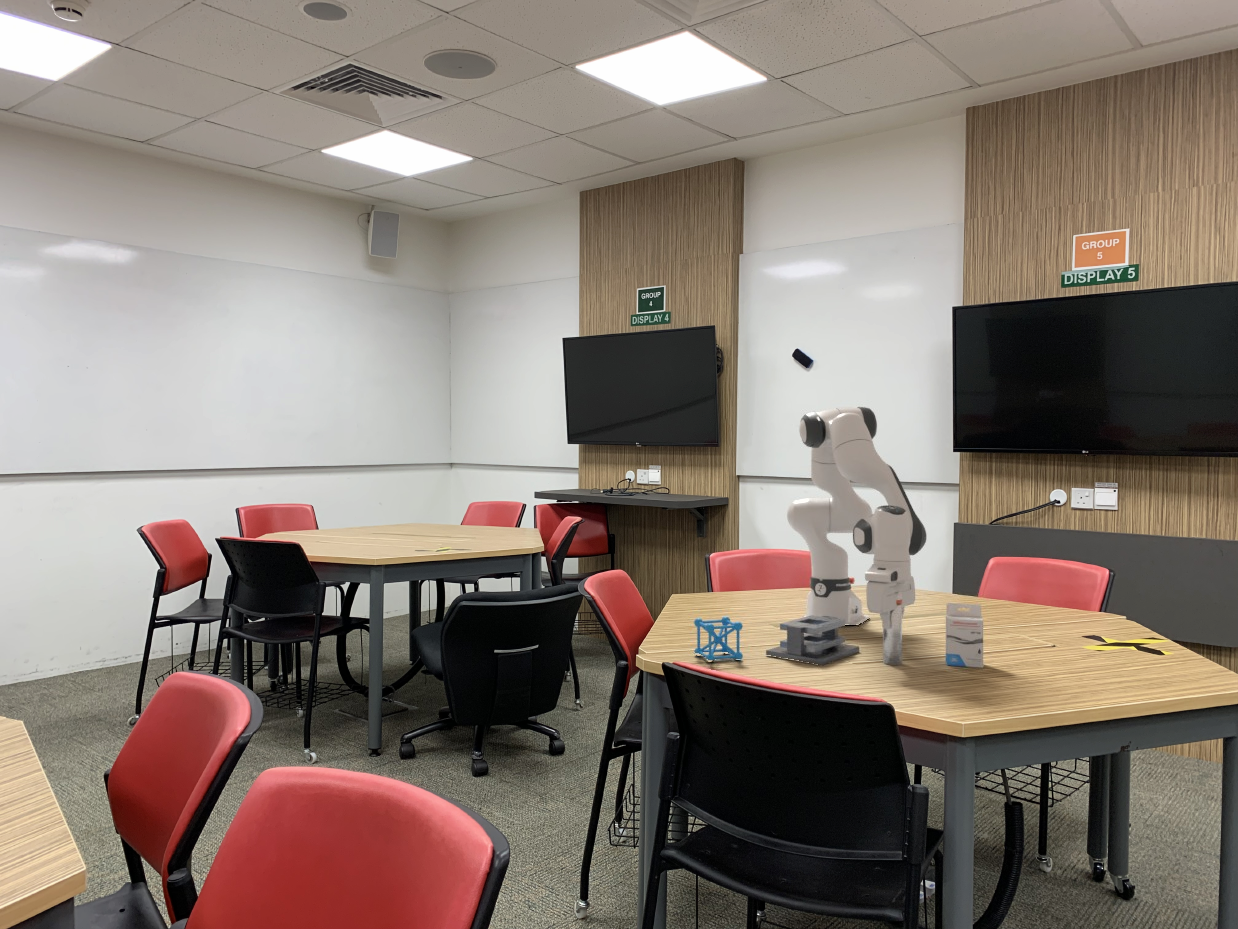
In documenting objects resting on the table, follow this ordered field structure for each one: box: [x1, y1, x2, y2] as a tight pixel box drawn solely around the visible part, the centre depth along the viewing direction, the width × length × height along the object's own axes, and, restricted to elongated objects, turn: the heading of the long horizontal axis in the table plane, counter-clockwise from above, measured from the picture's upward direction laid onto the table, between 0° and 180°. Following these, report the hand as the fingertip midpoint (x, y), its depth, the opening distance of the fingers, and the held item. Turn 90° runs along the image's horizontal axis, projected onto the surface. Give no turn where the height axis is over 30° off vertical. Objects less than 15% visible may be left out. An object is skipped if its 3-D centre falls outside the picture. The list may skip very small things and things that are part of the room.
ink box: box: [945, 602, 984, 669], centre depth 212 cm, size 9×5×15 cm, turn 71°
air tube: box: [882, 591, 903, 666], centre depth 214 cm, size 5×5×18 cm
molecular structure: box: [693, 616, 744, 661], centre depth 221 cm, size 10×10×10 cm
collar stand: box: [765, 615, 860, 666], centre depth 224 cm, size 20×16×8 cm
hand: (892, 626), depth 214 cm, fingers closed on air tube, 4 cm apart
